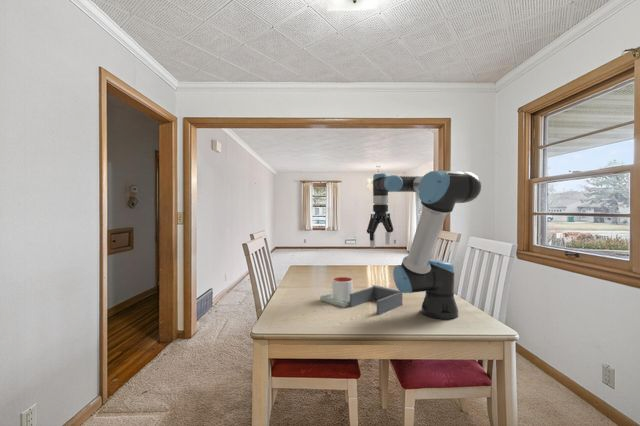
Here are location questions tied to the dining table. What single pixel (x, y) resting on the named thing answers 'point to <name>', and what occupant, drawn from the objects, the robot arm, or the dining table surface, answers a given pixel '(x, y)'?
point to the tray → (331, 300)
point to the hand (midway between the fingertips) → (380, 245)
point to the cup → (342, 288)
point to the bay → (378, 298)
